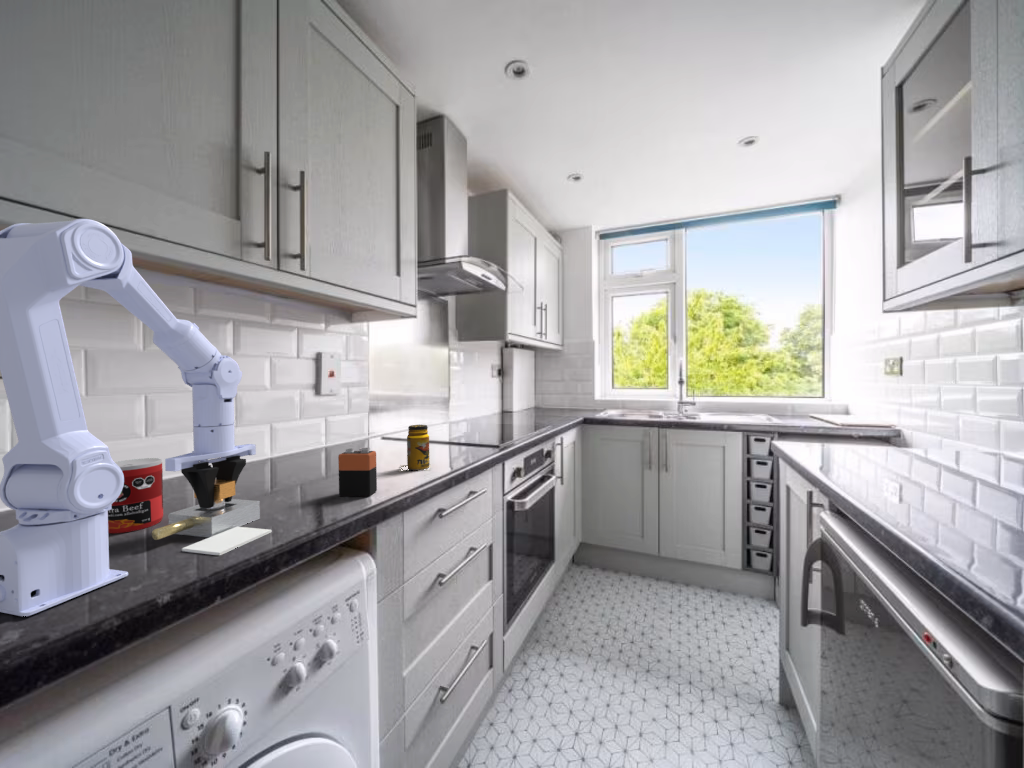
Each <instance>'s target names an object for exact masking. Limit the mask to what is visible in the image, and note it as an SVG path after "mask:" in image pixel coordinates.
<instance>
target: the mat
mask: <svg viewBox="0 0 1024 768" xmlns="http://www.w3.org/2000/svg"><path fill="white" fill-rule="evenodd" d="M272 531H273V530H272V529H267V528H266V529H265V528H258V527H257V528H256V527H248V526H247V527H246V526H240V527H235V528H232V529H230V530H227V531H225V532H222V533H220V534H217V535H214V536H212V537H206V538H205V539H202V540H200V541H197V542H195V543H191V544H189V545H187V546H184V547H182V548H181V552H187V553H195V554H203V555H204V554H205V555H213V556H222V555H224V554H226V553H229V552H230V551H233V550H236V549H238V548H240V547H242V546H244V545H246V544H249V543H251V542H253V541H255V540H258V539H260V538H262V537H264V536H267V535H268V534H271V533H272ZM237 547H238V548H237ZM235 548H236V549H235Z"/></svg>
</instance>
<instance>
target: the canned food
mask: <svg viewBox="0 0 1024 768" xmlns="http://www.w3.org/2000/svg"><path fill="white" fill-rule="evenodd" d="M114 462H115V463H116V464H117V465H118V466H119V467H120V468H121V470H122V472H123V475H124V486H123V489H122V491H121V493H120V495H119V497H118V498H117V499H116V500H115V501H114V502H113V503H112V509H111V510H108V534H124V533H130V532H135V531H140V530H145V529H147V528H150V527H153V526H155V525H158V524H159V523H161V521H162V520H163V517H164V489H163V488H164V486H163V484H164V483H163V481H164V480H163V475H164V474H163V461H162V458H158V457H157V458H156V457H153V458H152V457H151V458H149V457H147V458H137V459H135V458H134V459H128V460H127V459H126V460H121V461H114Z"/></svg>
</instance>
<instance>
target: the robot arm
mask: <svg viewBox="0 0 1024 768" xmlns="http://www.w3.org/2000/svg"><path fill="white" fill-rule="evenodd" d="M79 286H81V287H86V288H89V289H95V290H99V291H103V292H105V293H106V294H108V295H109V296H110V297H112V298H113V299H114V300H115V301H117V302H118V303H119V304H120V305H121V306H122V307H123V308H125V309H126V310H127V311H128V312H129V313H131V314H132V315H133V316H134V317H136V319H138V320H139V321H140V322H142V324H144V325H145V326H146V327H148V328H149V330H151V331H152V332H153V334H152V342H153V344H154V345H155V346H156V347H157V348H159V350H161V352H162V353H164V354H165V355H166V356H167V357H168V358H169V359H170V360H171V361H173V362H174V363H175V364H176V366H177V369H178V370H179V371H180V374H181V378H182V381H183V382H184V384H185V385H187V386H189V387H191V392H192V393H191V395H192V396H191V397H192V432H193V433H192V434H193V436H192V439H193V440H192V441H193V450H192V451H191V452H190V453H189V452H188V453H184V454H181V455H177V456H173V457H168V458H164V459H165V460H164V463H165V464H164V466H165V472H179V471H180V472H181V474H182V475H183V476H184V478H185V479H186V480H187V481H188V483H189V485H190V486H191V488H192V489H193V493H194V492H195V495H196V497H197V498H196V500H197V503H198V505H199V506H200V508H211V507H213V503H214V485H215V479H216V480H233V481H235V486H236V485H237V482H238V480H239V477H240V474H241V473H242V471H243V470H244V468H245V466H247V459H246V458H242V457H246V456H255V455H257V451H256V450H257V449H256V448H257V447H256V446H257V445H256V444H253V443H246V444H239V445H236V444H235V443H236V442H235V439H236V438H235V437H236V435H235V400H234V399H235V398H236V397H237V396H236V395H238V386H239V384H240V383H241V381H242V377H243V371H241V368H240V366H239V364H238V362H237V361H236V360H235V359H233V358H232V357H231V356H228V355H226V354H224V355H223V354H222V353H221V352H220V351H219V349H218V348H217V347H216V346H215V345H213V344H212V342H211V341H209V339H207V337H206V336H205V335H204V334H203V333H202V332H201V330H200V327H199V326H198V325H197V324H196V323H195V322H191V321H190V320H187V319H179V318H177V317H176V315H174V314H173V312H172V311H171V310H170V309H169V308H168V307H167V305H166V304H165V303H164V302H163V300H162V299H161V298H160V297H159V296H158V295H157V293H156V292H155V290H153V289H152V287H151V286H150V285H149V283H148V282H147V281H146V280H145V279H144V278H143V277H142V275H141V274H140V272H138V270H137V269H136V268H135V267H134V264H133V254H132V251H131V250H130V249H129V248H128V247H127V246H126V245H124V244H123V243H122V242H121V240H120V239H119V238H118V236H117V234H116V233H115V232H114V231H112V229H110V228H109V227H108V226H106V225H105V224H103V223H102V222H99V221H97V220H95V219H91V218H90V219H89V218H75V219H73V220H65V221H64V220H63V221H62V220H61V221H51V222H38V223H27V222H23V223H21V222H20V223H15V224H11V225H10V226H9V225H8V226H7V227H6V228H4V229H3V228H2V229H1V230H0V374H1V379H2V383H3V386H4V390H5V394H6V398H7V402H8V406H9V410H10V413H11V417H12V421H13V424H14V428H15V433H16V438H17V441H18V442H17V443H16V444H15V445H14V446H13V447H12V448H11V449H10V450H8V452H7V453H6V454H4V455H3V456H2V459H1V460H2V463H3V469H4V470H3V477H2V479H1V481H0V500H1V503H3V504H4V506H6V507H7V508H9V509H12V510H14V511H15V520H17V521H18V524H15V525H14V526H12V527H10V528H7V529H5V530H1V531H0V613H4V614H9V615H14V616H18V617H23V616H24V618H25V616H26V617H30V616H32V615H35V614H37V613H40V612H42V611H45V610H47V609H49V608H52V607H55V606H57V605H60V604H62V603H64V602H68V601H70V600H71V599H74V598H76V597H79V596H82V595H83V594H86V593H89V592H92V591H93V590H96V589H98V588H101V587H104V586H106V585H108V584H111V583H114V582H116V581H118V580H121V579H123V578H125V577H128V576H129V572H128V571H126V570H119V569H111V568H110V550H109V549H110V548H109V545H110V544H109V533H108V510H111V509H112V503H113V502H114V501H115V500H116V499H117V498H118V497H119V495H120V493H121V491H122V489H123V486H124V475H123V472H122V470H121V468H120V467H119V466H118V465H117V464H116V463H115V462H116V461H114V460H113V458H112V456H111V452H110V447H109V446H108V445H107V444H106V443H104V442H103V441H102V440H101V439H99V438H98V437H96V436H95V435H94V434H92V433H91V432H90V431H89V430H88V429H89V428H88V424H87V420H86V416H85V412H84V407H83V402H82V399H81V393H80V390H79V385H78V380H77V376H76V372H75V367H74V363H73V358H72V353H71V350H70V345H69V341H68V336H67V332H66V327H65V323H64V320H63V319H64V317H63V314H62V310H61V306H60V301H61V299H62V298H65V296H67V295H68V294H69V293H71V292H72V291H73V290H75V289H76V288H77V287H79ZM232 499H233V496H231V497H227V498H225V502H230V501H231V500H232Z"/></svg>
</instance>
